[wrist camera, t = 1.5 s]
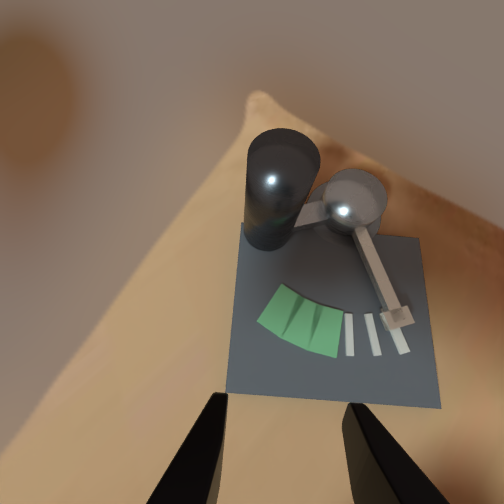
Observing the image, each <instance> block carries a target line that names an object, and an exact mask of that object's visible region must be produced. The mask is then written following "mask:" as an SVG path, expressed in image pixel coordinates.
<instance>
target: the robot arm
mask: <svg viewBox="0 0 504 504" xmlns="http://www.w3.org/2000/svg"><path fill="white" fill-rule="evenodd" d="M227 406H228V394H227V393H220V392H215V393H213V394H212V396H211V397H210V399H209V400H208V402H207V404H206V405H205V407H204V409H203V410H202V412H201V414H200V415H199V417H198V419H197V420H196V422H195V424H194V425H193V427H192V428H191V430H190V432H189V433H188V435H187V437H186V438H185V440H184V442H183V443H182V445H181V447H180V448H179V450H178V452H177V453H176V455H175V456H174V458H173V460H172V461H171V463H170V465H169V466H168V468H167V470H166V471H165V473H164V475H163V476H162V478H161V480H160V481H159V483H158V485H157V486H156V488H155V489H154V491H153V493H152V494H151V496H150V498H149V499H148V501H147V503H146V504H216V503H217V498H218V493H219V487H220V480H221V471H222V460H223V450H224V440H225V429H226V419H227ZM342 433H343V439H344V446H345V452H346V459H347V465H348V472H349V478H350V484H351V490H352V496H353V500H354V504H450V503H449V502H448V501H447V500H446V498H445V497H444V496H443V495H442V494H441V493H440V491H439V490H438V489H437V488H436V487H435V486H434V484H433V483H432V482H431V481H430V480H429V479H428V477H427V476H426V475H425V474H424V473H423V471H422V470H421V469H420V468H419V467H418V466H417V464H416V463H415V462H414V461H413V460H412V459H411V457H410V456H409V455H408V454H407V453H406V452H405V450H404V449H403V448H402V447H401V446H400V445H399V443H398V442H397V441H396V440H395V439H394V438H393V436H392V435H391V434H390V433H389V432H388V431H387V429H386V428H385V427H384V426H383V425H382V424H381V422H380V421H379V420H378V419H377V418H376V417H375V415H374V414H373V413H372V412H371V411H370V410H369V408H368V407H367V406H366V405H365V404H363V403H354V402H350V403H349V404H348V406H347V408H346V411H345V415H344V418H343V421H342Z"/></svg>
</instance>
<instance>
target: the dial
mask: <svg viewBox="0 0 504 504" xmlns="http://www.w3.org/2000/svg"><path fill="white" fill-rule="evenodd" d="M319 168H320V154H319V151H318V149H317V147H316V146H315V144H314V143H313V142H312V141H311V140H310V139H309V138H308V137H307V136H305V135H304V134H302V133H300V132H298V131H295V130H291V129H285V128H277V129H271V130H268V131H265V132H263V133H261V134H260V135H258V136H257V137H256V138H255V139H254V140H253V141H252V143H251V145H250V147H249V149H248V156H247V173H246V191H245V209H244V227H243V230H244V235H245V238H246V240H247V241H248V243H249V244H250V245H252V246H253V247H254V248H256V249H258V250H261V251H274V250H277V249H279V248H281V247H283V246H284V245H285V244H286V243H287V241H288V239H289V237H290V235H291V233H293V232H297V231H301V230H305V229H309V228H314V227H318V226H322V225H325V226H326V227H327V228H328V229H330V230H331V231H333V232H334V233H337V234H339V235H344V236H352V237H353V239H354V242H355V244H356V246H357V249H358V251H359V254H360V256H361V258H362V261H363V263H364V265H365V268H366V270H367V272H368V275H369V277H370V279H371V282H372V284H373V286H374V289H375V291H376V294H377V296H378V298H379V301H380V303H381V305H382V308H383V310H384V312H383V313H380V314H379V316H380V319H381V321H382V323H383V326H384V328H385V330H386V331H390V330H393V329H397V328H400V327H403V326H406V325H410V324H413V323H415V321H414V319H413V317H412V315H411V313H410V310H409V308H408V306H404V307H401V305H400V303H399V301H398V299H397V296H396V294H395V292H394V290H393V287H392V285H391V283H390V281H389V278H388V276H387V274H386V272H385V269H384V267H383V265H382V263H381V261H380V258H379V256H378V254H377V252H376V249H375V247H374V245H373V243H372V240H371V238H370V236H369V234H368V231H367V228H368V227H369V226H370V225H371V224H372V223H373V222H374V221H375V220H376V219H377V218H378V217H379V216H380V215H381V214H382V213H383V212H384V210H385V208H386V206H387V194H386V190H385V188H384V186H383V185H382V183H381V182H380V181H379V180H378V179H377V178H376V177H375V176H373V175H372V174H370V173H368V172H366V171H363V170H360V169H345V170H342V171H339V172H338V173H336V174H335V175H333V176H332V178H331V179H330V180H329V182H328V184H327V186H326V188H325V190H324V192H323V194H322V196H321V197H320V200H319V201H317V202H312V203H308V204H304V203H305V201H306V198H307V196H308V194H309V191H310V189H311V187H312V185H313V182H314V180H315V178H316V175H317V173H318V171H319Z"/></svg>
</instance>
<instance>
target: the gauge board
mask: <svg viewBox="0 0 504 504" xmlns="http://www.w3.org/2000/svg"><path fill="white" fill-rule="evenodd" d="M327 184H328V182H326V183H324V184H322V185H320V186H318V187H317V188H316V189H315V190H314V191H313V192H312V194H311V195H310V197H309V199H308V202H307V204H308V203H312V202H317V201H319V200H320V197H321V196H322V194H323V192H324V190H325V188H326V186H327ZM380 223H381V215H380V216H379V217H378V218H377V219H376V220H375V221H374V222H373V223H372V224H371V225H370V226H369V227H368V228H367V231H368V234H369V236H370V238H371V240H372V243H373V245H374V247H375V249H376V252H377V254H378V256H379V258H380V261H381V263H382V265H383V267H384V269H385V272H386V274H387V276H388V278H389V281H390V283H391V285H392V287H393V290H394V292H395V294H396V296H397V299H398V301H399V303H400V305H401V307H404V306H408V308H409V310H410V313H411V315H412V317H413V319H414V321H415V323H413V324H410V325H406V326H403V327H400V328H397V329H393V330H390V331H386V330H385V328H384V326H383V323H382V321H381V319H380V316H379V314H380V313H383V312H384V310H383V308H382V305H381V303H380V301H379V298H378V296H377V294H376V291H375V289H374V286H373V284H372V282H371V279H370V277H369V275H368V272H367V270H366V268H365V265H364V263H363V261H362V258H361V256H360V254H359V251H358V249H357V246H356V244H355V242H354V239H353V237H352V236H344V235H339V234H337V233H334V232H333V231H331V230H330V229H328V228H327V227H326V226H325V225H322V226H318V227H314V228H309V229H305V230H301V231H297V232H293V233H291V235H290V237H289V239H288V241H287V243H286V244H285V245H284V246H283V247H281V248H279V249H277V250H274V251H261V250H258V249H256V248H254V247H253V246H252V245H250V244H249V243H248V241H247V240H246V238H245V235H244V230H243V227H244V223H242V222H241V233H240V243H239V254H238V264H237V275H236V286H235V296H234V307H233V317H232V328H231V338H230V349H229V359H228V370H227V380H226V391H225V393H238V394H251V395H264V396H277V397H291V398H304V399H317V400H330V401H344V402H357V403H370V404H383V405H397V406H410V407H423V408H436V409H441V402H440V394H439V387H438V379H437V372H436V364H435V356H434V349H433V341H432V334H431V326H430V319H429V311H428V304H427V296H426V288H425V281H424V273H423V266H422V258H421V251H420V243H419V238H412V237H400V236H389V235H378V234H376V233H377V232H378V230H379V227H380Z"/></svg>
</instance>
